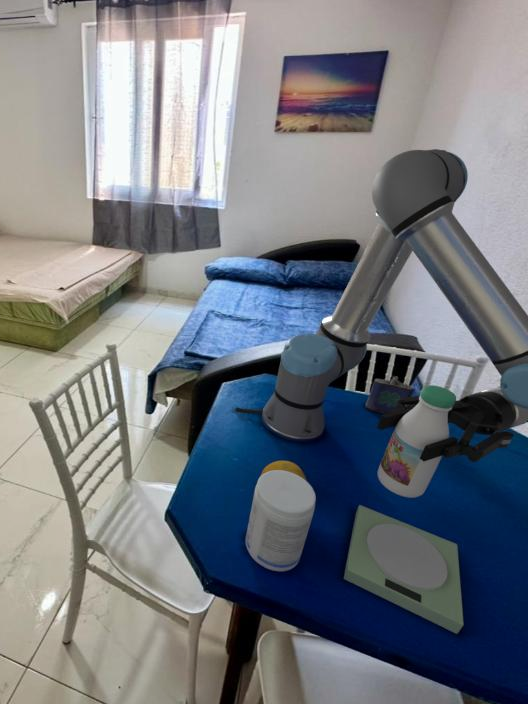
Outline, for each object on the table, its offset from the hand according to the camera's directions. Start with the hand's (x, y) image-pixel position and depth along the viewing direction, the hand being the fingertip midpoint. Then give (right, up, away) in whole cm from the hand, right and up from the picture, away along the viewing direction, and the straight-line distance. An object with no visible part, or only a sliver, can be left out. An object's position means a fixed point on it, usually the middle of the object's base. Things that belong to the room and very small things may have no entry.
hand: (401, 437), depth 67 cm
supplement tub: (-20, -21, +6) cm, 30 cm away
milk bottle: (+4, -10, +7) cm, 13 cm away
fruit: (-15, -16, +17) cm, 27 cm away
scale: (+2, -23, +4) cm, 23 cm away
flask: (+23, -2, +44) cm, 50 cm away
